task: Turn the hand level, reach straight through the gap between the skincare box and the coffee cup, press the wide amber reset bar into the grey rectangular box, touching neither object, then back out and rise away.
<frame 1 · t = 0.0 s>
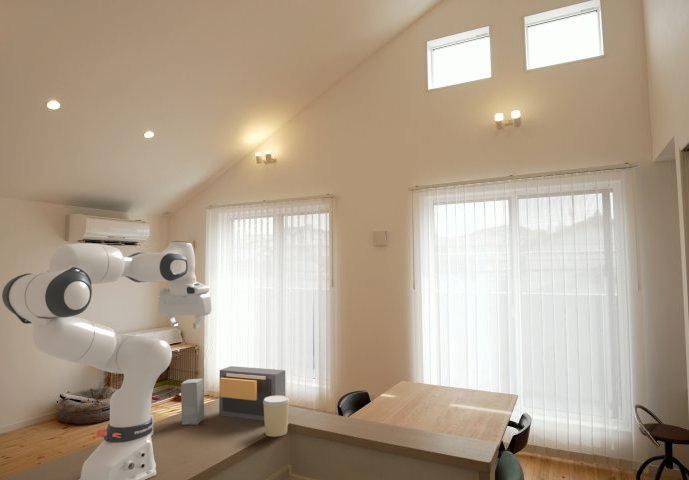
hand: (185, 327, 156), 39 cm above the worktop, tool pointing down, fingers open, 8 cm apart
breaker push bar: (239, 388, 174), point 13 cm above the worktop, slide at 0.0 cm
grey rectangular box: (252, 415, 182), on the worktop
skincare box 2: (140, 438, 159), on the worktop
coffee cup: (276, 433, 162), on the worktop
skincare box: (192, 422, 176), on the worktop
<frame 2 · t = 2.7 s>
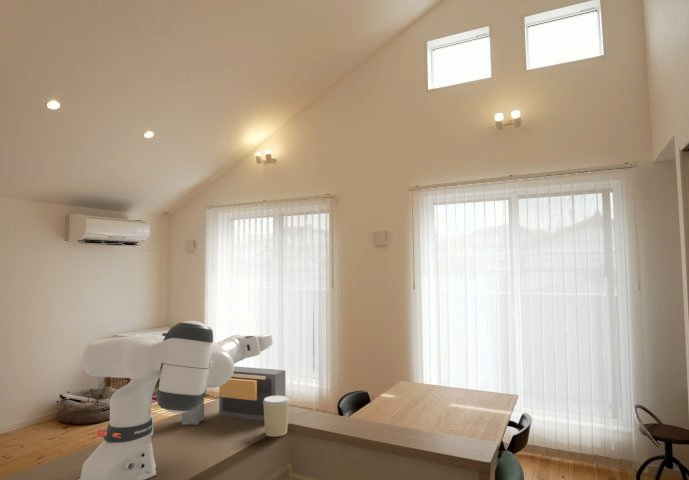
hand: (254, 338, 168), 33 cm above the worktop, tool horizontal, fingers open, 8 cm apart
nothing on the worktop moved.
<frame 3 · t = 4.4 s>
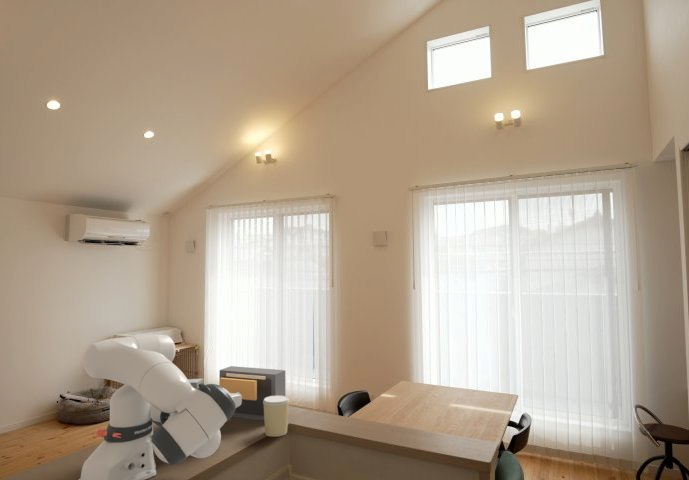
hand: (227, 393, 167), 13 cm above the worktop, tool horizontal, fingers open, 8 cm apart
nothing on the worktop moved.
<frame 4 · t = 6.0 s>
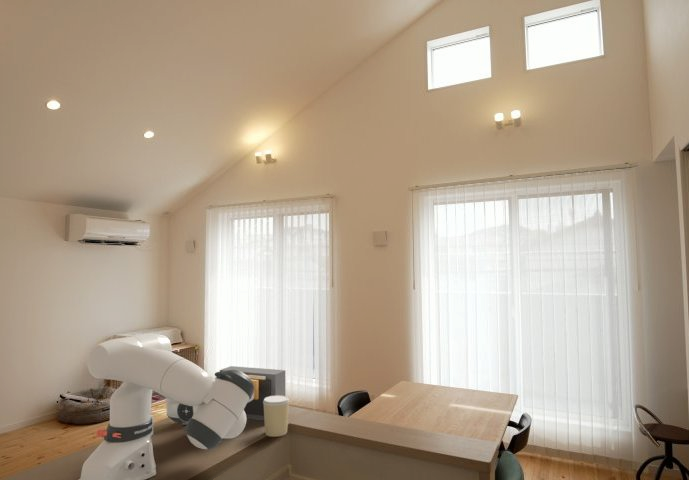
hand: (239, 388, 174), 13 cm above the worktop, tool horizontal, fingers open, 8 cm apart
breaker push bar: (240, 387, 176), point 13 cm above the worktop, slide at 1.1 cm, touching gripper
everything else where it was.
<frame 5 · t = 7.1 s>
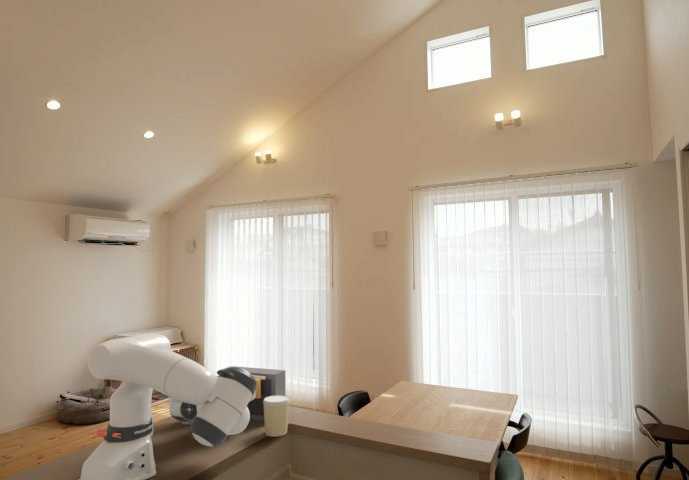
hand: (241, 387, 176), 13 cm above the worktop, tool horizontal
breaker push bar: (243, 386, 177), point 13 cm above the worktop, slide at 2.7 cm, touching gripper
everything else where it was.
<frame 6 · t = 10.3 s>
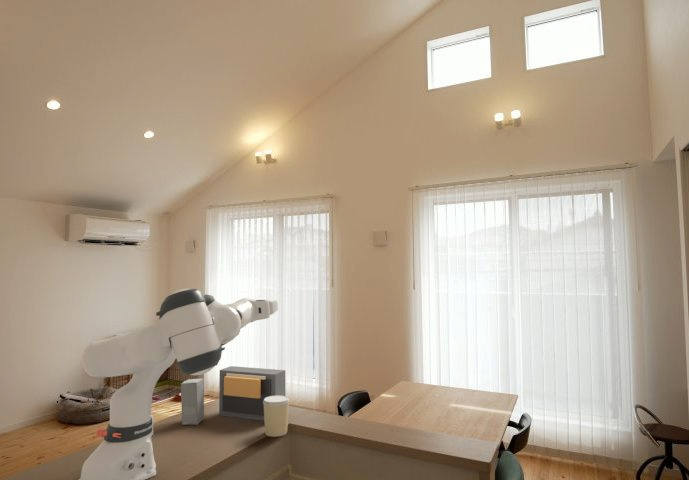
hand: (255, 304, 175), 45 cm above the worktop, tool horizontal, fingers open, 8 cm apart
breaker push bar: (243, 386, 177), point 13 cm above the worktop, slide at 2.7 cm
everything else where it was.
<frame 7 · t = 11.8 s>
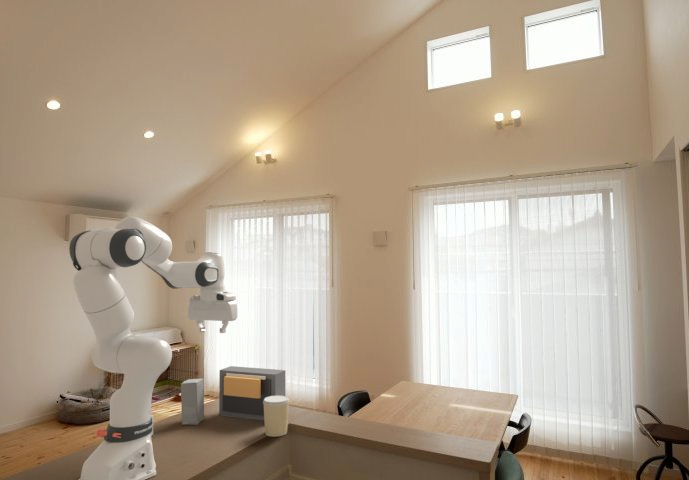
hand: (212, 332, 170), 35 cm above the worktop, tool pointing down, fingers open, 8 cm apart
nothing on the worktop moved.
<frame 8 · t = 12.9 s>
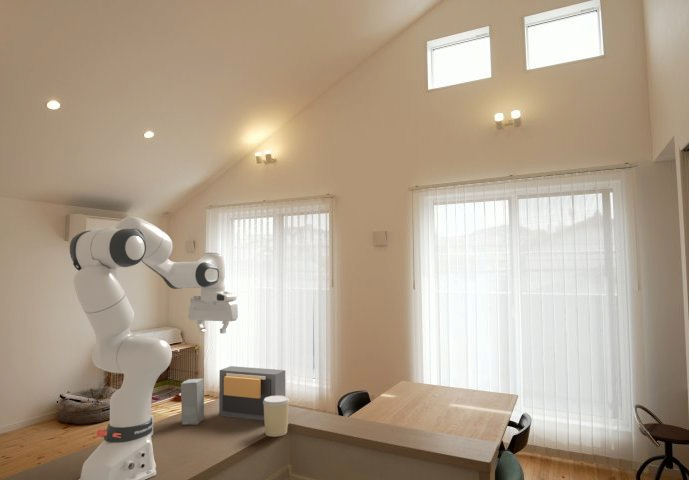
hand: (212, 332, 170), 35 cm above the worktop, tool pointing down, fingers open, 8 cm apart
nothing on the worktop moved.
at the end: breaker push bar slide at 2.7 cm; skincare box moved 0.2 cm from its start; coffee cup moved 0.2 cm from its start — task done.
